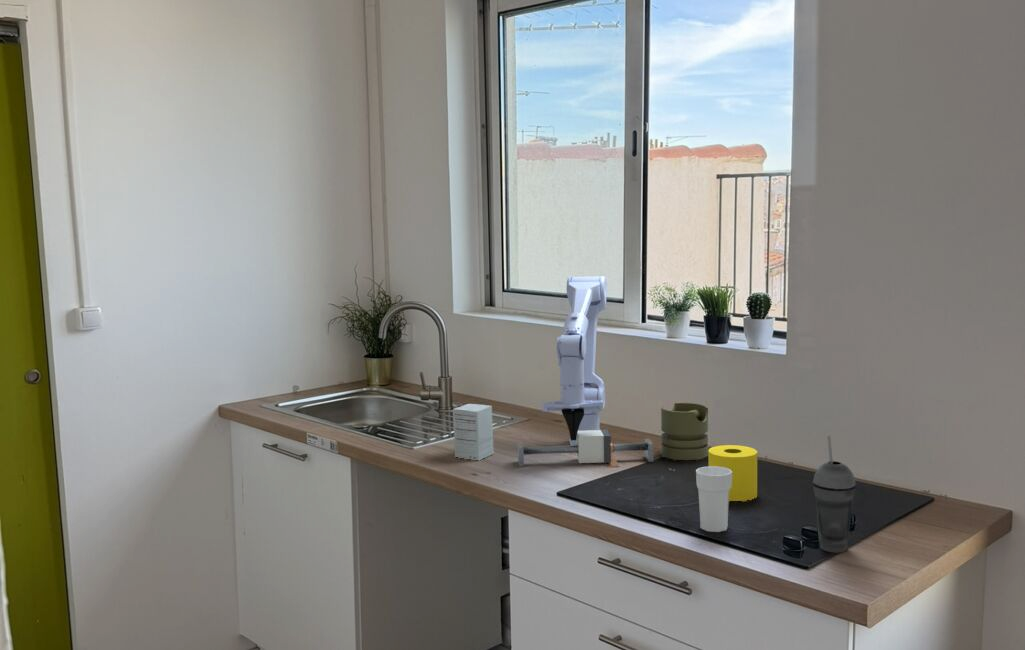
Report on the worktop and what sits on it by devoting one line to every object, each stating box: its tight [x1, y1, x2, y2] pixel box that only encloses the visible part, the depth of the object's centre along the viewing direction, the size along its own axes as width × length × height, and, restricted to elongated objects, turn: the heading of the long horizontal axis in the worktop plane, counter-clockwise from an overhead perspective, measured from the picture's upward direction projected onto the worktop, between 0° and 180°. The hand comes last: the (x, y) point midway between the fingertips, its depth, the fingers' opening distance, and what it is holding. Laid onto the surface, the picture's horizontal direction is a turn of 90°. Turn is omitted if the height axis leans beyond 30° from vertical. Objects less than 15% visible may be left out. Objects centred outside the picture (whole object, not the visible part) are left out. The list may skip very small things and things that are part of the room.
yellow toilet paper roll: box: [707, 444, 758, 502], centre depth 196 cm, size 10×10×9 cm
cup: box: [695, 465, 732, 533], centre depth 176 cm, size 7×7×11 cm
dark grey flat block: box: [600, 428, 612, 464], centre depth 226 cm, size 2×7×6 cm, turn 2°
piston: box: [660, 402, 709, 460], centre depth 229 cm, size 11×12×11 cm
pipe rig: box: [517, 438, 654, 468], centre depth 226 cm, size 32×11×4 cm, turn 92°
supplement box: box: [452, 403, 495, 462], centre depth 233 cm, size 7×7×13 cm
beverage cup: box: [812, 435, 857, 553], centre depth 163 cm, size 7×7×20 cm
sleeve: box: [576, 429, 604, 464], centre depth 226 cm, size 6×6×6 cm
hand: (573, 439), depth 225 cm, fingers closed
